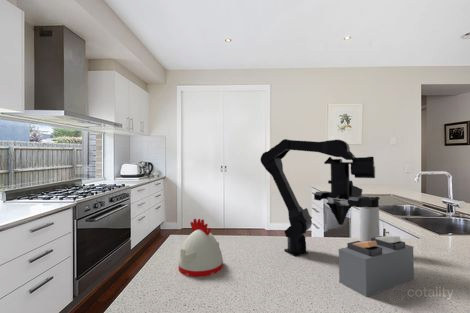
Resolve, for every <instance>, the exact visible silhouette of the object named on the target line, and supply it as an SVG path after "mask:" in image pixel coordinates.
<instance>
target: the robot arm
mask: <svg viewBox="0 0 470 313" xmlns="http://www.w3.org/2000/svg"><path fill="white" fill-rule="evenodd" d="M350 148H351V147H350V145H349V143H348V142H346V141H345V140H342V139H331V140H325V141H311V140H310V141H309V140H296V139H295V140H293V139H288V138H287V139H286V138H284V139H282V140H281V141H280V142H279V143H278V144H276V145H275V146H273V147H272V148H270V149H269V150H268V151H264V152H263V153H262V154H261V157H260V159H259V160H260V163H261V164H262V167H264V169H265V171H266V172H268V173H269V174H270V175H271V177H272V179H273V181H274V183H275V185H276V188H277V189H278V192H279V194H280V197H281V198H282V200H283V202H284V204H285V206H286V210H287V213H288V221H289V224H290V226H289V227H287V228H286V229H285V230H284V234H285V237H286V238H287V248H284V252H285V253H288V254H290V255H291V256H294V257H299V256H303V255H306V254H307V255H308V254H310V251H309V250H307V241H306V236H305V234H306V233H307V231H308V230H309V229H311V227H312V224H313V220H312V219H313V217H312V216H311V214H310V212H309V209H308V207H306V208H304V209H303V207H302V206H301V205H300V204H299V201H298V199H297V197H296V194H295V193H294V191H293V189H292V187H291V185H290V182H289V181H288V179H287V176H286V174H285V172H284V166H283V165H284V164H283V161H282V159H284V158H285V157H286V156H287V154H288V153H289V152H290V151H297V152H300V151H301V152H309V153H310V152H311V153H319V154H324V155H327V156H329V157H328V158H327V159H326V160H325V161H324V165H330V180H327V182H328V184H330V191H324V190H323V191H315V192H314V197H313V198H314V199H313V200H316V201H322V200H324V199H325V200H327V202H326V203H325V204H326V205H327V206H328V207H329V209H330V211H331V212H332V214H333V216H334V217H335V220H336V222H337V224H338V225H340V226H342V225H344V224H345V220H346V217H347V216H348V212H349V211H350V209H351V208H352V207H354V208H359V207H368V206H372V201H371V199H370V198H369V197H370V196H366V195H365V196H364V195H362V194H363V189H362V188H361V187H358V186H355V185H354V183H353V180H350V174H351V175H353V176H354V178H355V179H375V178H376V166H375V157H374V156H365V157H357V156H355V154H354V153H353V152H351V150H350ZM332 157H336V158H332ZM343 159H344V160H345V162H343ZM346 161H347V162H346Z"/></svg>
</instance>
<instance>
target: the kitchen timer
mask: <svg viewBox="0 0 470 313" xmlns="http://www.w3.org/2000/svg"><path fill="white" fill-rule="evenodd" d="M189 224H190V226H191V229H192V233H189V235H188V237H187V238H186V239H185V241H184V243H183V244H182V247H181V249H180V251H179V252H180V253H179V257H178V271H179V272H180V273H181V274H182V275H183V276H187V277H193V278H195V277H196V278H197V277H198V278H200V277H201V278H203V277H208V276H212V275H214V274H217V273H219V272H221V270H223V266H224V260H223V254H222V251H221V250H222V249H221V248H220V242H219V241H217V238H215V236H214V235H213V234H212V233H211V230H212V227H209V228H208V223H205V219H201V218H199V219H196V218H193V221H190V223H189Z"/></svg>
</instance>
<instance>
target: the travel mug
mask: <svg viewBox="0 0 470 313" xmlns="http://www.w3.org/2000/svg"><path fill="white" fill-rule="evenodd" d="M368 197H369V198H370V199H371V201H372V206H368V207H358V208H359V241H361V242H367V241H371V238H373V237H378V236H381V234H380V206H379V200H380V197H379V196H375V197H374V196H368Z"/></svg>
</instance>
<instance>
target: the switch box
mask: <svg viewBox="0 0 470 313" xmlns="http://www.w3.org/2000/svg"><path fill="white" fill-rule="evenodd" d="M381 236H382V235H380V236H378V237H381ZM375 238H376V237H373V238H371V241H376V243H377V246H373V247H367V248H362V247H359V246H356V245H353V244H354V243H358V242H361V241H360V240H356V241H350V242H347V244H346V247H341V248H338V276H339V279H338V282H339V283H340V284H342V285H343V286H345V287H347V288H349V289H350V290H352V291H354V292H357V293H359V294H361V295H363V296H364V297H369V295H370V296H372V295H376V294H378V293H380V292H382V291H385V290H389V289H391V288H394V287H396V286H400V285H402V284H405V283H408V282H410V281H413V280H415V264H414V262H415V261H414V260H415V259H414V246H412V245H409V244H406V241H399V242H395V243H388V242H385V241H382V240H378V239H375Z"/></svg>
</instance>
